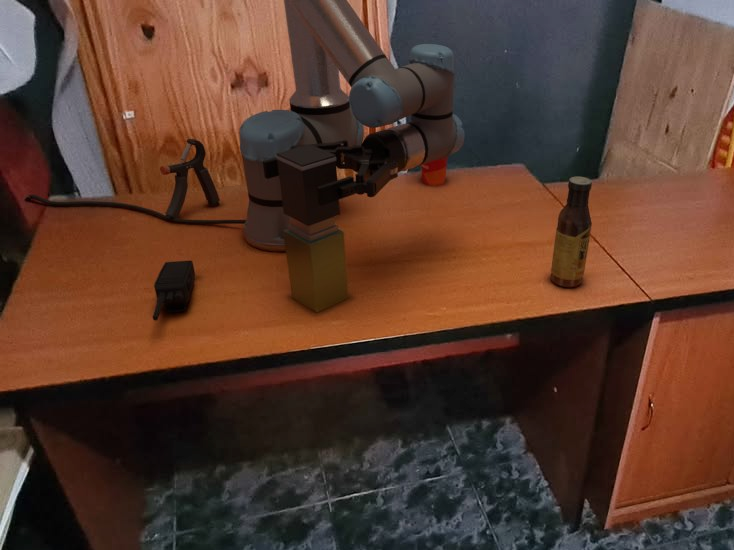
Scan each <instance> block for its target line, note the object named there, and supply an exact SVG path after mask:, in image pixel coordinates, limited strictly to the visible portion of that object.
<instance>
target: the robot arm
mask: <svg viewBox="0 0 734 550" xmlns="http://www.w3.org/2000/svg"><path fill="white" fill-rule="evenodd" d="M283 5H284V11H285V12H284V13H285V20H286V26H287V34H288V42H289V49H290V55H291V63H292V71H293V79H294V85H295V86H294V87H295V91H294V93H293V94H291V96H290V97H289V99H288V101H289V108H290V110H288V109H272V110H271V111H268V110H264V111H260V112H257V113H255V114H253V115H251V116H249V117H248V118H246V119H245V120H244V121H243V122H242V123H241V125H240V127H239V134H238V135H239V152H240V155H241V158H242V164H243V171H244V176H245V183H246V190H247V194H248V206H247V212H246V219H186V218H178V217H177V218H172V220H170V219H168V218H166V217H165V216H166V214H163V213H161V212H159V211H156V210H153V209H151V208H146V207H143V206H139V205H134V204H130V203H124V202H123V203H122V202H116V201H115V202H113V201H96V200H95V201H93V200H87V201H86V200H83V201H82V200H79V201H76V200H75V201H53V200H49V199H45V198H44V197H41V196H39V195H36V194H28V196H29V197H30V198H29V197H27V196H26V197H25V198H24V202H30V201H31V200H33V199H34V200H36V201H38V202H41V203H43V204H46V205H48V206H56V207H58V206H59V207H61V206H62V207H63V206H65V207H69V206H106V207H107V206H108V207H117V208H118V207H119V208H126V209H130V210H131V209H132V210H136V211H139V212H143V213H146V214H147V213H148V214H150V215H153V216H156V217H158V218H161V219H162V220H166V221H168V222H173V223H178V224H190V225H191V224H193V225H232V224H233V225H236V224H238V225H244V226H243V233H244V238H245V241H246V242H247V244H249V246H252V247H253V248H256V249H258V250H262V251H266V252H276V253H278V252H280V253H281V252H283V253H284V252H286V248H285V240H284V232H283V230H286V229H288V225H289V224H290V217H289V216H288V215H286V214H284V211H283V203H282V195H281V187H280V179H279V171H278V163H277V159H276V153H280V152H283V151H287V150H291V149H294V148H298V147H301V146H305V145H309V144H311V145H313V146H315V147H318V148H320V149H322V150H325V151H327V152H329V153H332V154H334V155H336V168H337V169H338V170H352V171H353V172H355V173H354V175H355V178H354V177H353V176H351V175H349V176H347V177H343V178H341V179H337V181H334V182H331V183H328V184H325V185H322V186H319V187H317V197H318V204H319V205H321V206H322V205H325V204H328V203H331V202H333V201H336V200H339V201H340V200H342V199H345V198H348V197H350V196H353V195H359V196H362V195H364V194H366V196H367V197H368V198H374V197H375V196H377V194H379V192H381V190H383V188H384V187H385V186H386V185H387V184H388V183H389V182H390V181H391V180H394V179H397V178H398V177H399V173H401V172H407V171H408V170H410V169H413V168H415V167H418V166H421V165H422V164H425V163H428V162H431V161H434V160H437V159H443V158H445V157H446V156H447V157H448V156H451V155H453V154H455V153H457V152H458V151H459V150H460V149H461V148H462V147H463V145H464V143H465V142H464V141H465V137H466V135H465V130H464V129H463V122H462V120H461V119H460V118H459V117H458V116H457V115H456V114H454V113H453V109H454V92H455V91H454V90H455V87H454V86H455V74H456V72H455V56H454V52H453V51H452V49H451V48H449V47H447V46H445V45H441V44H434V43H422V44H416V45H414V46H413V47H412V49H411V50H410V56H409V59H408V62H409V64H406V65H403V66H400V67H397V68H395V66H394V64H393V63H392V62H391V61H390V59H389V58H388V57H387V55H386V54H385V52H384V51H383V50H382V48H381V47H380V45H379V44H378V42H377V41H376V39H375V38H374V37H373V35H372V34H371V33H370V31H369V29H368V28H367V26H366V25H365V24H364V22H363V21H362V19H361V18H360V16H359V15H358V13H357V12H356V11H355V10H354V8H353V7H352V5H351V4H350V3H349V1H348V0H283ZM340 75H342V77H343V78H344V79H345V81H346V82H347V83H348V85H349V87H350V90H349V94H347V93H346V92H345V91H344V90H343V89H342V88H341V80H340ZM409 116H410V121H409V122H405V123H402V124H397V125H395V126H391V127H388V128H386V129H382V130H378V131H374V132H371V133H368V134H367V135H366V136H365V129H364V127H367V128H371V129H376V128H377V129H378V128H381V127H385V126H390V125H394V124H395V123H398V121H400V120H403V119H405V118H407V117H409Z"/></svg>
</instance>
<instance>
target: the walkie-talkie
mask: <svg viewBox="0 0 734 550" xmlns="http://www.w3.org/2000/svg"><path fill="white" fill-rule="evenodd" d="M195 276H196V272H195V267H194V262H193V260H192V259H191V260H178V261H177V260H176V261H165V262H164V264H163V266H162V267H161V269H160V271H159V272H158V275H157V278H156V280H155V281H154V283H153V284H154V285H153V287H154V292H155V295H156V303H155V304H156V305H155V308H154V311H153V314H152V320H153V321H158V319H159V317H160V314H161V311H162V309H163V306H164V305H165V313H169V314H170V313H181V312H185V310H186V307H187V303H188V302H189V301H190V297H191V293H192V290H193V286H194V281H195Z"/></svg>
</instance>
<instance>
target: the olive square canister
mask: <svg viewBox="0 0 734 550" xmlns="http://www.w3.org/2000/svg"><path fill="white" fill-rule="evenodd" d="M289 217H290V216H289ZM283 232H284V240H285V248H286V251H285V255H286V263H287V270H288V271H287V272H288V278H289V288H290V293H291V298H292V299H293V300H295V301H297V302H298V303H300V304H302V305H303V306H305V307H306V308H308V309H309V310H311V311H313V312H314V313H317V314H318V313H319V312H322V311H324V310H327V309H328V308H330V307H333V306H334V305H337V304H339V303H341V302H343V301H345V300H347V299H349V288H348V287H349V285H348V273H347V258H346V245H345V231H344V230H341V229H340V228H339V226H338V225H337V224H336V216H335V217H332V218H330V219H327V220H324V221H321V222H319V223H316V224H313V225H311V226H307V225H305V224H303V223H301V222H299V221H297V220H295V219H293V218H292V217H290V224H289V225H288V229H286V230H283Z"/></svg>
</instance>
